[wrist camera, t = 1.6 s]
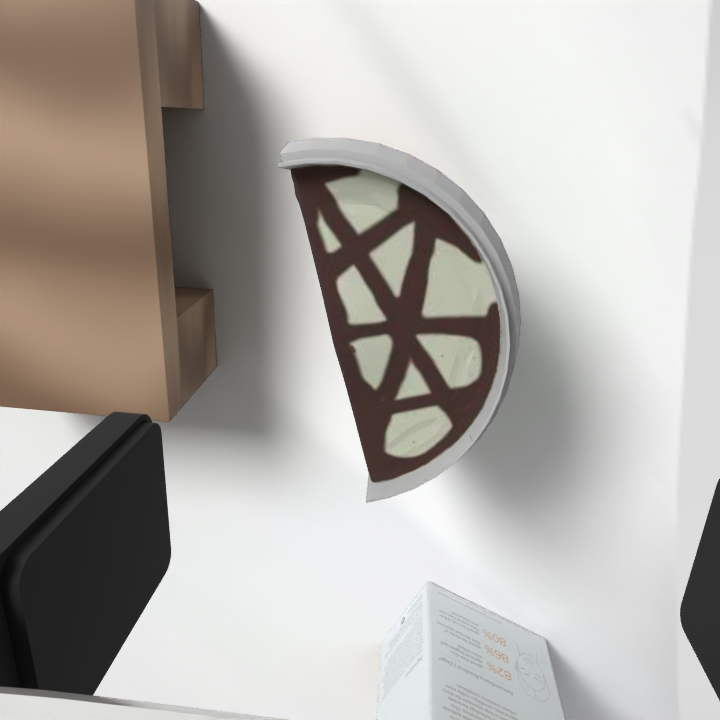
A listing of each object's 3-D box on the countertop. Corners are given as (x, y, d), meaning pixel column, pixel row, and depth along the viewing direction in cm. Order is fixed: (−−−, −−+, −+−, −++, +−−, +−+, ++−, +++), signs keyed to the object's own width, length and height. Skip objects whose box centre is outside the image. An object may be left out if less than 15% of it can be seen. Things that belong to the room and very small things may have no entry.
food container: (513, 373, 29) (553, 492, 20) (387, 394, 30) (369, 515, 21) (471, 101, 25) (497, 88, 16) (327, 136, 26) (271, 144, 17)
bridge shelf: (-34, -5, 25) (-164, -41, 20) (198, 2, 24) (131, -34, 19) (28, 351, 31) (-59, 401, 26) (216, 366, 30) (169, 421, 25)
